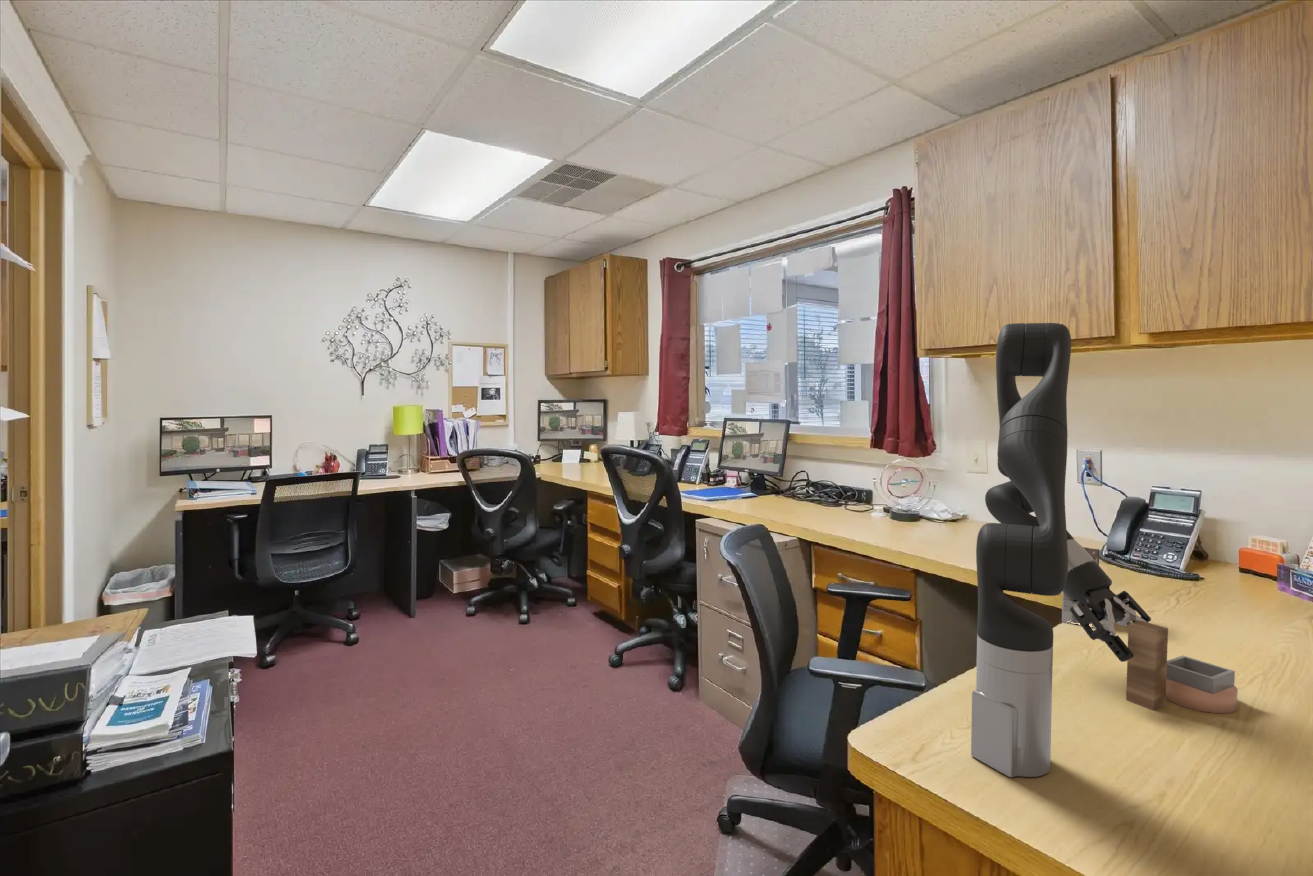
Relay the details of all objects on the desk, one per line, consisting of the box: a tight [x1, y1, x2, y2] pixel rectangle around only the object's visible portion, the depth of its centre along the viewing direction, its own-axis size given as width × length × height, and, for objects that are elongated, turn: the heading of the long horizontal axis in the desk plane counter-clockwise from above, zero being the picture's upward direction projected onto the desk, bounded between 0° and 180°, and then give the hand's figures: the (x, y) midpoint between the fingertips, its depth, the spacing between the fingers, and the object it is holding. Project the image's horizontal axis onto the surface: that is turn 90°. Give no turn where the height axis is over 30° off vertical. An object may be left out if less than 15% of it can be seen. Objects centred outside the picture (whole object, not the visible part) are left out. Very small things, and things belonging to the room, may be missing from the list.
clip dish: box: [1166, 655, 1239, 714], centre depth 105 cm, size 10×10×6 cm
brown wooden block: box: [1125, 621, 1169, 711], centre depth 104 cm, size 4×4×13 cm
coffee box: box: [1061, 546, 1100, 624], centre depth 143 cm, size 9×6×16 cm
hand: (1143, 654), depth 105 cm, fingers open, 8 cm apart
